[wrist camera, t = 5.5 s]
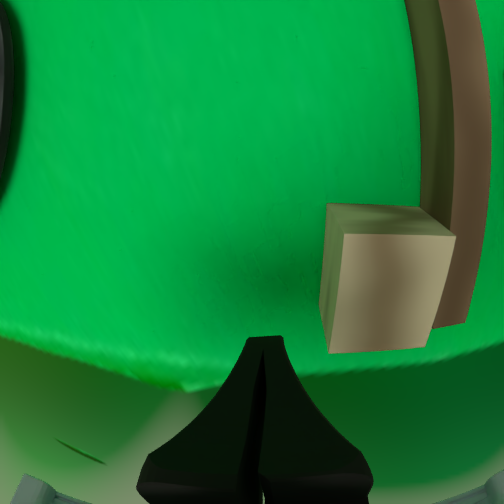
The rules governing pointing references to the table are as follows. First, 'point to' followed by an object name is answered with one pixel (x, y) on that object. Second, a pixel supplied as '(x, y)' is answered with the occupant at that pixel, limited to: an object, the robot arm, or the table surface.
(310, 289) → the table surface
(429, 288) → the beech block
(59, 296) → the table surface
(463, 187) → the walnut board
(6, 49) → the electronic game
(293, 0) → the table surface
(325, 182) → the table surface
